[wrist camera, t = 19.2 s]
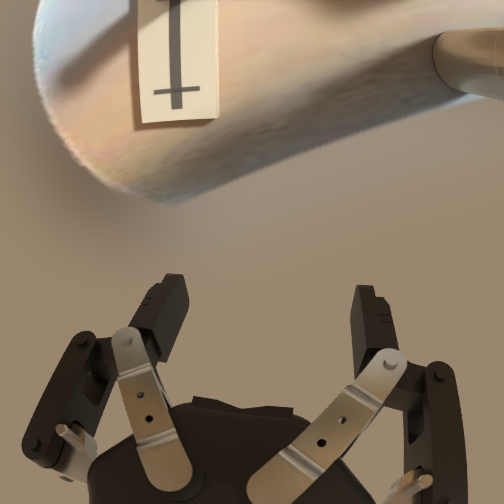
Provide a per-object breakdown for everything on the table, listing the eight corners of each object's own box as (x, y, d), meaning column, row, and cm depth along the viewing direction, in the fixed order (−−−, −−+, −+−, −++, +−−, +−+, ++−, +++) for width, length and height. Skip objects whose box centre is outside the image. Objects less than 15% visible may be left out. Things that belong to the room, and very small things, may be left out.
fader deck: (218, -35, 26) (215, -40, 24) (219, 116, 37) (216, 118, 36) (144, -24, 26) (138, -28, 24) (147, 120, 38) (141, 123, 36)
